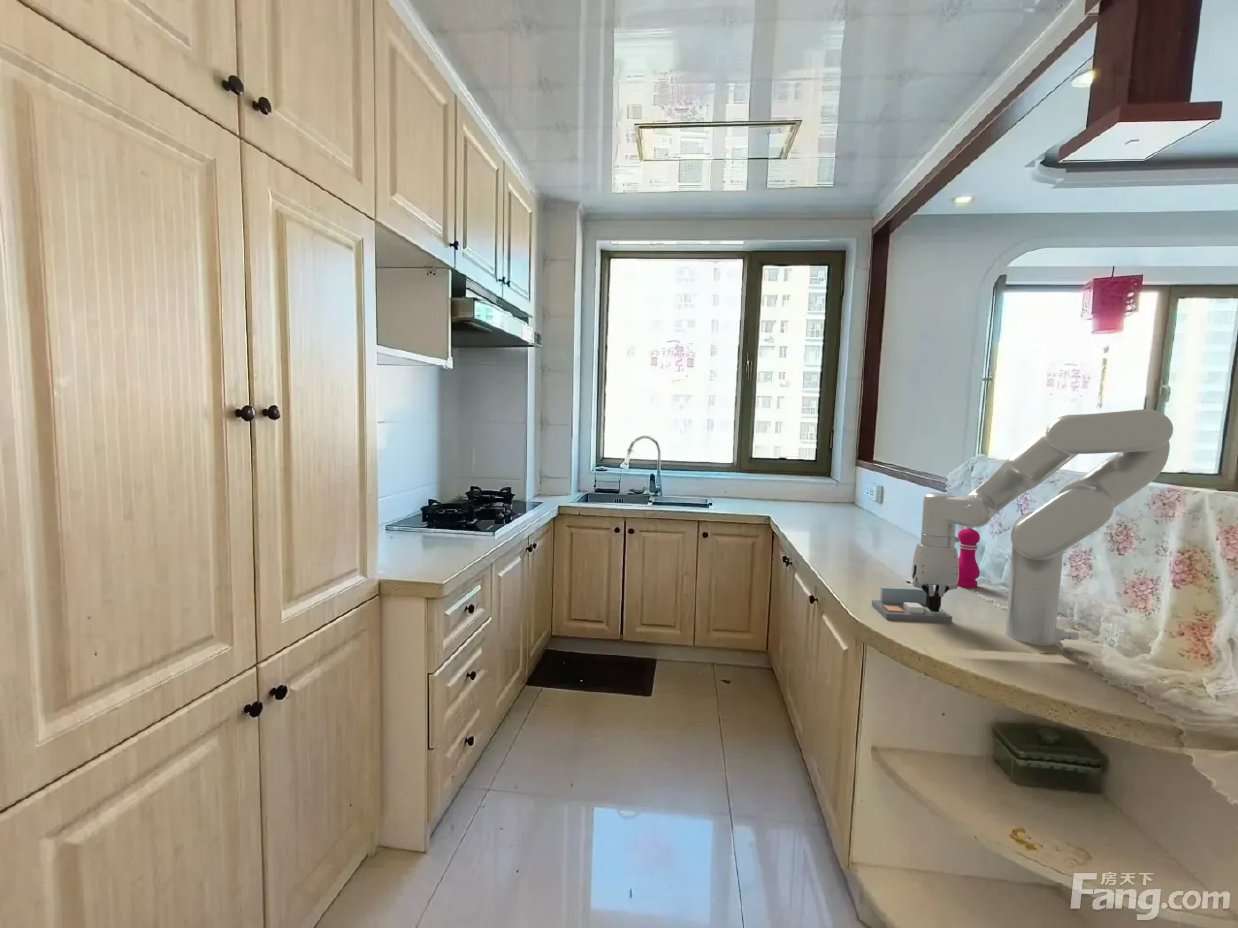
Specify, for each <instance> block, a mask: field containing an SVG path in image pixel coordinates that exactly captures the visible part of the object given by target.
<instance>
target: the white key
mask: <svg viewBox="0 0 1238 928" xmlns="http://www.w3.org/2000/svg"><path fill="white" fill-rule="evenodd" d="M903 609H904V610H905V611H907V612H908V613H921V614H924V607H923V606H921V605H920V604H919V603H909V602H904V604H903Z"/></svg>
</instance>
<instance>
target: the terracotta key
mask: <svg viewBox="0 0 1238 928" xmlns="http://www.w3.org/2000/svg"><path fill="white" fill-rule="evenodd" d="M884 609H885V610H887V611H888V612H900V613H903V610H902V609H901V608H899V607H898V606H885V605H884Z"/></svg>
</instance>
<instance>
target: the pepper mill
mask: <svg viewBox="0 0 1238 928" xmlns="http://www.w3.org/2000/svg"><path fill="white" fill-rule="evenodd" d="M965 527H966V528H963V529H961V530H960V531H958V533H957V537H959V538H960V542H958V547H959V549H960V551H959V555H958V561H959V579H958V583H957V587H961V588H966V589H976V588H977V587H978V580H977V579H978V578H979V577H980V575H981V572H980V567H979V565H978V562H977V560H976V551H977V550H978V543H980V540H981V535H980V534H979V532H978V531H977V530H975V529H973V527H967V526H965Z"/></svg>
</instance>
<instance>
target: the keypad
mask: <svg viewBox="0 0 1238 928" xmlns="http://www.w3.org/2000/svg"><path fill="white" fill-rule="evenodd" d="M926 595H927V594H926V593H925V591H924V590H923V589H920V588H916V587H894V586H893V587H891V586H890V587H889V586H881V587H880V598H879V599H880V600H878V599H876V600H875V599H873V600H871V607H872V608H874V609H875V610H876V612H878V613H879V614H880V615H881V616H882V617H883V618H884V619H885V620H887V621H891V620H892V621H909V622H928V623H929V622H930V623H931V622H932V623H949V624H952V623H953V616H951V614H949V613H948V612H946V611H945V610H944V609H943V608H942V607H940V608H939V609H940V610H941V611H942V612H944V615H942V614H928V613H927V612H926V611H924V614H921V613H908V612H907V611H905V610H904V609H903V604H904V602H909V603H919V604H920V605H921V606H923V607H927V606H926ZM884 605H885V606H898V607H899V608H901V609H902V610H903V613H900V612H888V611H887V610H885V609H884Z"/></svg>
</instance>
